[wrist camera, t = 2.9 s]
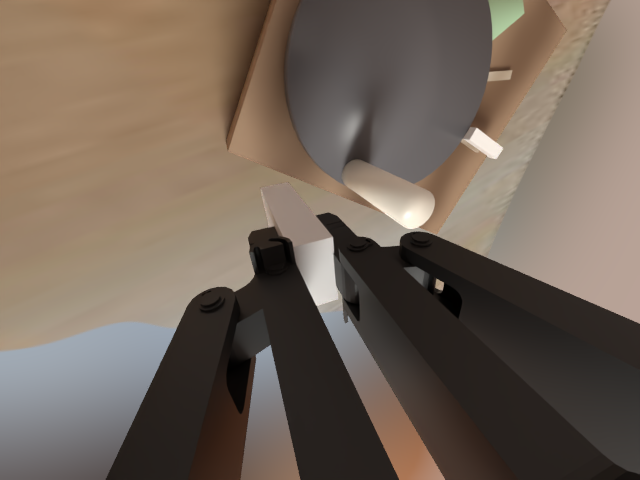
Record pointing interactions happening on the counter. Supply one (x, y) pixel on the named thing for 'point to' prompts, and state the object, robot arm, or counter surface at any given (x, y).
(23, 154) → the counter surface
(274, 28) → the board
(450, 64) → the gray pegged oval disc
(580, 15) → the counter surface
